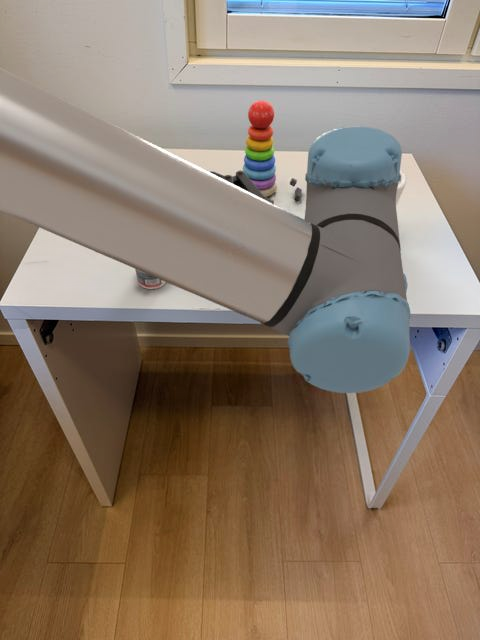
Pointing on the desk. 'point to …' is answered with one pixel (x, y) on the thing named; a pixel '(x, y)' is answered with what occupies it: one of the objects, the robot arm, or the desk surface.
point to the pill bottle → (148, 280)
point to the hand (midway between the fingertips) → (151, 193)
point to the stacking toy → (261, 148)
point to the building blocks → (298, 190)
